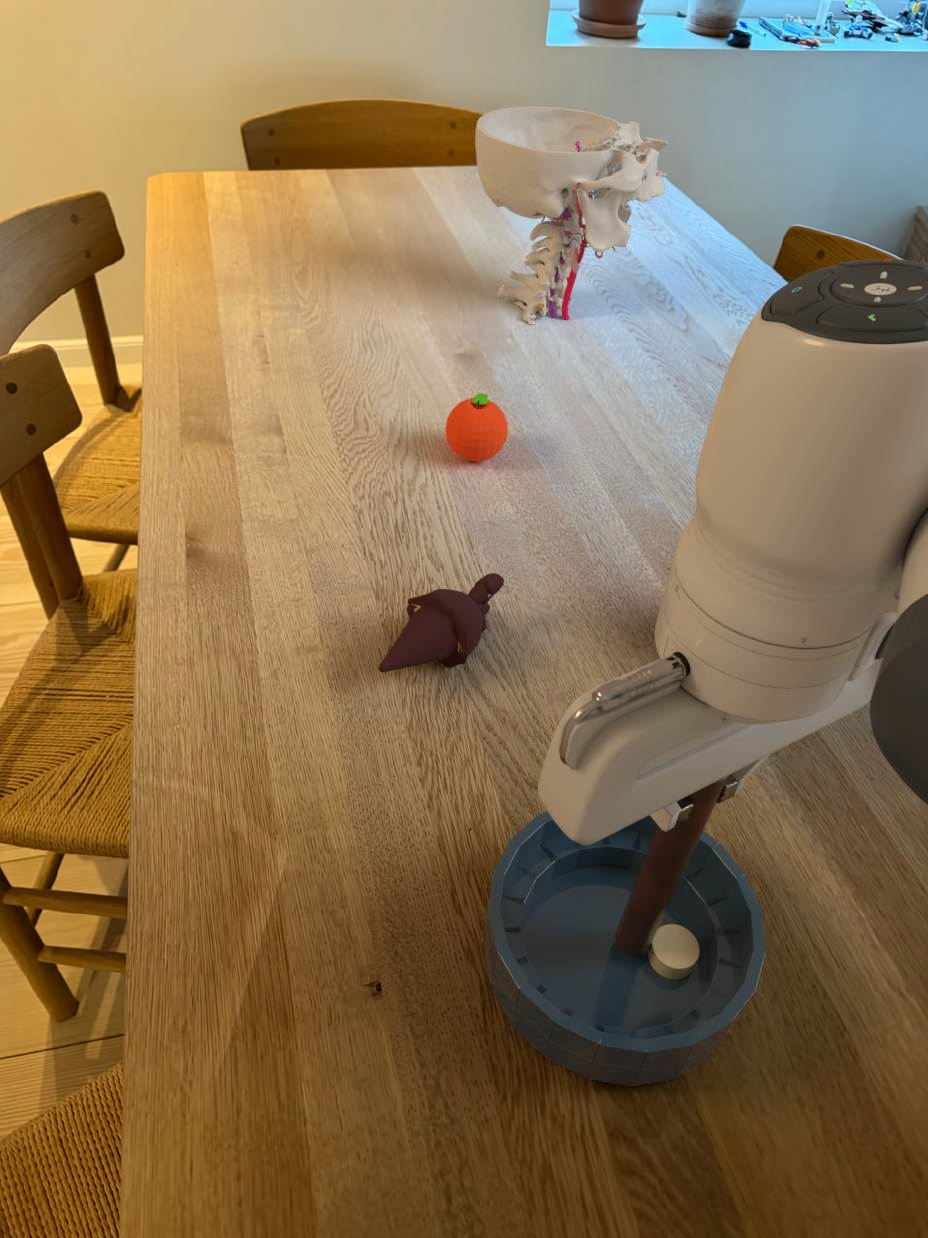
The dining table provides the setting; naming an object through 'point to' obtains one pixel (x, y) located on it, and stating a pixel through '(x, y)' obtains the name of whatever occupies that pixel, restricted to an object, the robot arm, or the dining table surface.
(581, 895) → the bowl
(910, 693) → the robot arm
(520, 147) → the skull
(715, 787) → the stick
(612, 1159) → the dining table surface
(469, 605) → the icecream
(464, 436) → the clementine
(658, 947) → the dough
